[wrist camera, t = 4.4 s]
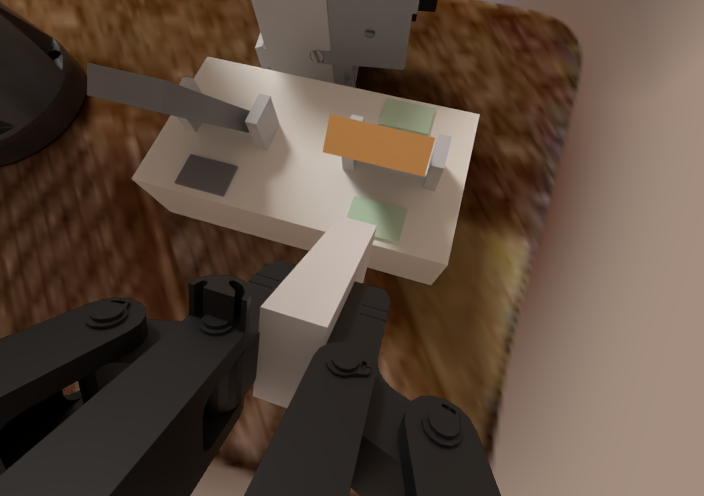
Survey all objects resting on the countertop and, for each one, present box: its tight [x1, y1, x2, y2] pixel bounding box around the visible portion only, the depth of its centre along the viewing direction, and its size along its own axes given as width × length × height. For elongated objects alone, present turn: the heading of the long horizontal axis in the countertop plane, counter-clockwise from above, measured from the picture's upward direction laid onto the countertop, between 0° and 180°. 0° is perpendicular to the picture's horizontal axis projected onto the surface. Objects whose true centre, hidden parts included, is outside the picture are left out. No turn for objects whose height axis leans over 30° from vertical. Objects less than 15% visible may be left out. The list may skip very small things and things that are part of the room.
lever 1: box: [87, 63, 250, 133], centre depth 19 cm, size 4×1×9 cm
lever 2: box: [323, 114, 435, 176], centre depth 17 cm, size 4×1×10 cm
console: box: [131, 57, 480, 285], centre depth 24 cm, size 22×12×8 cm, turn 73°
